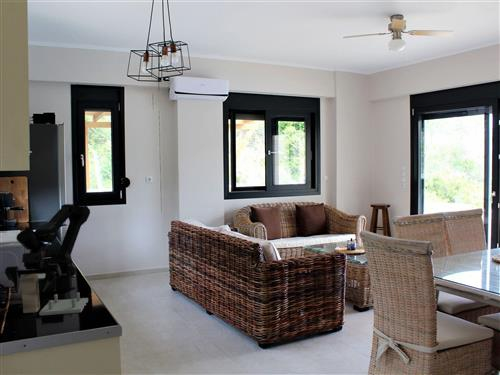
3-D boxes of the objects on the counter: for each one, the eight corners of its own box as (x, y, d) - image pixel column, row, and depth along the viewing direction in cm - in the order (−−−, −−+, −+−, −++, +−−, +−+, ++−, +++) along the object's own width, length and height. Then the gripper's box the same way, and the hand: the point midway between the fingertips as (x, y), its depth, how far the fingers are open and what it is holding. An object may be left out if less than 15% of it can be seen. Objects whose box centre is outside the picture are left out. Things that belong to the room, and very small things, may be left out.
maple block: (27, 309, 176) (24, 274, 176) (40, 308, 177) (37, 273, 176) (23, 313, 172) (21, 277, 171) (36, 312, 173) (34, 276, 172)
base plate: (50, 303, 182) (49, 292, 182) (88, 300, 184) (87, 290, 184) (39, 315, 168) (38, 303, 168) (80, 312, 170) (80, 300, 170)
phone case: (54, 280, 221) (57, 272, 237) (53, 277, 221) (57, 269, 236) (33, 282, 219) (37, 274, 234) (33, 279, 219) (37, 270, 234)
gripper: (4, 245, 176) (-5, 282, 166) (57, 242, 179) (51, 278, 169) (13, 262, 184) (4, 298, 174) (63, 258, 187) (58, 294, 177)
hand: (29, 291), depth 173 cm, fingers open, 9 cm apart
